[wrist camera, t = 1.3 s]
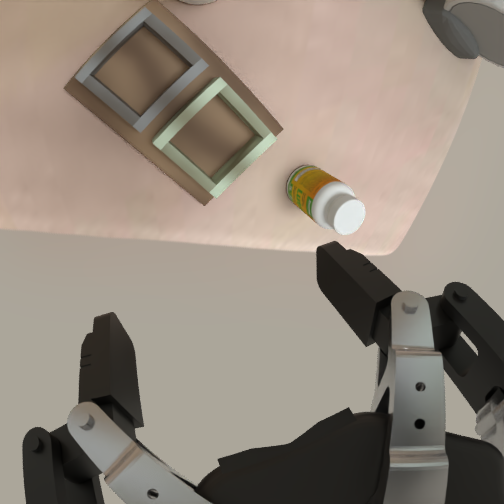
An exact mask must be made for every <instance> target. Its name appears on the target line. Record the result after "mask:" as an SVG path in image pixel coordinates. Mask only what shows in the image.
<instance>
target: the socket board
mask: <svg viewBox="0 0 504 504" xmlns="http://www.w3.org/2000/svg"><path fill="white" fill-rule="evenodd" d="M64 89H65V90H66V91H67V92H69V93H70V94H71V95H72V96H73V97H75V98H76V99H77V100H78V101H79V102H81V103H82V104H83V105H84V106H85V107H87V108H88V109H89V110H90V111H91V112H93V113H94V114H95V115H96V116H98V117H99V118H100V119H101V120H102V121H104V122H105V123H106V124H107V125H108V126H110V127H111V128H112V129H113V130H114V131H116V132H117V133H118V134H119V135H120V136H122V137H123V138H124V139H125V140H126V141H127V142H129V143H130V144H131V145H132V146H133V147H135V148H136V149H137V150H138V151H139V152H141V153H142V154H143V155H144V156H145V157H147V158H148V159H149V160H150V161H151V162H153V163H154V164H155V165H156V166H157V167H159V168H160V169H161V170H162V171H163V172H165V173H166V174H167V175H168V176H169V177H171V178H172V179H173V180H174V181H175V182H176V183H178V184H179V185H180V186H181V187H182V188H184V189H185V190H186V191H187V192H188V193H190V194H191V195H192V196H193V197H194V198H196V199H197V200H198V201H199V202H200V203H201V204H203V205H204V206H205V205H206V204H207V203H208V202H209V201H210V200H211V199H212V198H213V197H215V198H217V197H218V196H219V195H220V194H221V193H222V192H223V191H224V190H225V189H226V188H227V187H228V186H229V185H230V184H231V183H232V182H233V181H234V180H235V179H236V178H237V177H238V176H239V175H240V174H241V173H243V172H244V171H245V170H246V169H247V168H248V167H249V166H250V165H251V164H252V163H253V162H254V161H255V160H256V159H257V158H258V157H259V156H260V155H261V154H262V153H263V152H264V151H265V150H266V149H267V148H269V147H270V146H271V145H272V144H273V143H274V142H275V141H276V140H277V138H276V136H277V135H278V134H279V133H280V132H281V131H282V130H283V128H282V127H281V126H280V124H279V123H278V122H277V121H276V120H275V118H274V117H273V116H272V115H271V114H270V113H269V111H268V110H267V109H266V108H265V107H264V106H263V105H262V103H261V102H260V101H259V100H258V99H257V98H256V97H255V95H254V94H253V93H252V92H251V91H250V90H249V89H248V88H247V87H246V86H245V84H244V83H243V82H242V81H241V80H240V79H239V78H238V77H237V76H236V75H235V74H234V73H233V72H232V71H231V70H230V69H229V68H228V66H227V65H226V64H225V63H224V62H223V61H222V60H221V59H220V58H219V57H218V56H217V55H216V54H215V53H214V52H213V51H212V50H211V49H210V48H209V47H208V46H207V45H206V44H205V43H204V42H203V41H202V40H200V39H199V38H198V37H197V36H196V35H195V34H194V33H193V32H192V31H191V30H190V29H189V28H188V27H187V26H186V25H184V24H183V23H182V22H181V21H180V20H179V19H178V18H177V17H176V16H174V15H173V14H172V13H171V12H170V11H169V10H168V9H166V8H165V7H164V6H163V5H162V4H161V3H159V2H158V1H157V0H151V1H149V2H148V3H147V4H146V5H145V6H143V7H142V8H141V9H140V10H139V11H137V12H136V13H135V14H134V15H133V16H132V17H130V18H129V19H128V20H127V21H126V22H125V23H124V24H123V25H122V26H120V27H119V28H118V29H117V30H116V31H115V32H114V33H113V34H112V35H111V36H110V37H109V38H108V39H107V40H106V41H105V42H104V43H103V44H102V45H101V46H100V47H99V48H98V49H97V50H96V51H95V52H94V53H93V54H92V56H91V57H90V58H89V59H88V60H87V61H86V62H85V63H84V64H83V65H82V67H81V68H80V69H79V70H78V71H77V72H76V74H75V75H74V76H73V77H72V78H71V80H70V81H69V82H68V83H67V85H66V86H65V87H64Z"/></svg>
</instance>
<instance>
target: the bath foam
mask: <svg viewBox="0 0 504 504" xmlns="http://www.w3.org/2000/svg"><path fill="white" fill-rule="evenodd" d="M180 1H182V2H185V3H188V4H207V3H211V2H214V1H216V0H180Z"/></svg>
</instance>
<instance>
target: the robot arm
mask: <svg viewBox="0 0 504 504" xmlns="http://www.w3.org/2000/svg"><path fill="white" fill-rule="evenodd" d="M316 256H317V282H318V285H319V287H320V289H321V291H322V292H323V294H324V295H325V296H326V297H327V298H328V300H329V301H330V302H331V303H332V305H333V306H334V307H335V308H336V310H337V311H338V312H339V314H340V315H341V316H342V317H343V319H344V320H345V321H346V322H347V324H349V326H350V327H351V329H352V330H353V331H354V332H355V333H356V335H357V336H358V337H359V339H360V340H361V341H362V342H363V344H364V345H365V346H366V347H367V346H369V345H371V344H373V343H375V342H376V343H377V345H378V346H379V348H378V358H377V359H378V360H377V373H376V385H375V393H374V398H373V402H372V406H371V411H370V412H361V413H355V414H353V413H352V412H351V410H350V409H349V407H348V408H347V409H344V410H343V411H340V412H339V413H336V414H335V415H332V416H330V417H328V418H326V419H324V420H322V421H320V422H318V423H317V424H316V425H314V426H313V427H312V428H310V429H309V430H308V431H306V432H305V433H304V434H302V435H301V436H299V437H298V438H297V439H295V440H294V441H293V442H291V443H289V444H285V445H278V446H271V447H262V448H254V449H249V450H246V451H242V452H239V453H236V454H233V455H230V456H226V457H223V458H219V459H218V462H219V465H220V466H219V467H217V468H216V469H215V470H213V471H212V472H210V473H209V474H208V475H207V476H205V477H204V478H203V479H202V481H201V482H200V483H199V484H198V486H197V485H195V484H194V483H193V482H191V481H190V480H189V479H187V478H185V477H184V476H183V475H181V474H180V473H178V472H177V471H175V470H174V469H172V468H171V467H170V466H169V465H167V464H166V463H165V462H164V461H163V460H161V459H160V458H159V457H158V456H156V455H155V454H154V453H153V452H152V451H150V450H149V449H148V448H147V447H146V446H145V445H143V444H142V443H141V442H140V441H139V440H138V439H137V438H136V435H135V428H139V427H144V423H143V417H142V410H141V403H140V395H139V387H138V378H137V368H136V357H135V350H134V346H133V343H132V341H131V339H130V337H129V336H128V334H127V332H126V331H125V329H124V328H123V326H122V324H121V323H120V321H119V319H118V318H117V316H116V314H115V313H114V312H110V313H107V314H104V315H101V316H97V317H95V318H94V324H93V332H92V333H89V334H87V335H86V337H85V339H84V342H83V344H82V347H81V360H80V367H81V369H80V375H79V402H78V405H76V406H75V407H74V408H73V409H72V411H71V412H70V414H69V416H68V421H67V424H65V425H63V426H62V427H60V428H58V429H56V430H54V431H52V432H50V433H49V432H48V431H46V430H45V429H43V428H41V427H35V428H32V429H31V430H29V431H28V433H27V434H26V435H25V438H24V440H23V474H24V488H25V497H26V504H104V500H103V495H102V490H101V486H100V481H99V474H101V473H104V475H105V478H104V480H105V482H106V484H107V485H108V486H109V487H110V488H111V489H112V490H113V491H114V492H115V493H116V494H117V495H118V496H119V497H120V498H121V499H122V500H123V501H124V502H125V503H126V504H504V321H503V320H502V319H501V317H500V316H499V315H498V314H497V313H496V312H495V311H494V310H493V309H492V308H491V307H490V306H489V305H488V304H487V303H486V302H485V301H484V300H483V299H482V298H481V297H480V296H478V294H477V293H475V292H474V291H473V290H472V289H471V288H470V287H469V286H467V285H466V284H463V283H460V282H452V283H449V284H447V286H446V287H445V289H444V291H443V294H442V295H439V296H434V297H429V298H424V297H423V296H422V295H420V294H419V293H416V292H413V291H401V290H400V289H399V288H398V287H397V286H396V285H395V284H394V283H393V282H392V281H391V280H390V279H389V278H388V277H387V276H385V275H384V274H383V273H382V272H381V271H380V270H379V269H377V267H376V266H375V265H373V264H372V263H370V261H369V260H368V259H367V258H366V257H365V256H364V255H362V254H361V253H358V252H356V251H354V250H351V249H349V250H346V249H345V248H344V247H343V246H342V245H340V244H339V243H338V242H337V241H333V242H330V243H327V244H324V245H321V246H318V247H317V251H316ZM462 331H463V332H464V334H465V335H466V336H467V337H468V338H469V339H470V340H471V342H472V343H473V344H474V345H475V346H476V348H477V350H478V356H477V354H476V353H475V352H474V351H473V350H472V349H471V347H470V346H469V345H468V344H467V343H466V342H465V340H464V339H463V338H462V337H461V336H460V334H461V332H462ZM443 369H444V370H445V372H446V373H447V374H448V375H449V377H450V378H451V380H452V381H453V382H454V384H455V385H456V386H457V388H458V389H459V390H460V392H461V393H462V394H463V396H464V397H465V398H466V400H467V401H468V403H469V404H470V406H471V407H472V408H473V410H474V411H475V413H476V414H477V418H476V423H477V425H476V427H475V431H476V433H477V434H478V435H481V440H478V439H474V438H470V437H465V436H461V435H457V434H453V433H449V432H446V431H445V386H444V370H443Z"/></svg>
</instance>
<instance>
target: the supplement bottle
mask: <svg viewBox="0 0 504 504" xmlns="http://www.w3.org/2000/svg"><path fill="white" fill-rule="evenodd" d="M287 194H288V197H289V198H290V200H291V201H292V202H293V203H294V204H295V205H296V206H297V207H299V208H300V209H301V210H302V211H303V212H304V213H305V214H307V215H308V216H309V217H310V218H311V219H312V220H313V221H314V222H316V223H317V224H318V225H319V226H321V227H323V228H325V229H334V230H335V231H336V232H337V233H339V234H341V235H348V234H351V233H353V232H355V231H356V230H357V229H358V228H359V227H360V226H361V224H362V223H363V220H364V218H365V207H364V204H363V203H362V202H361V201H360V200H358V199H357V198H356V197H355V194H354V192H353V190H352V189H351V188H350V187H349V186H348V185H346V184H345V183H343V182H342V181H340V180H338V179H336V178H335V177H333V176H331V175H330V174H328V173H326V172H324V171H323V170H321V169H319V168H317V167H315V166H312V165H305V166H302V167H299V168H298V169H296V170H295V171H294V172H293V173H292V174H291V176H290V177H289V180H288V182H287Z"/></svg>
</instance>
